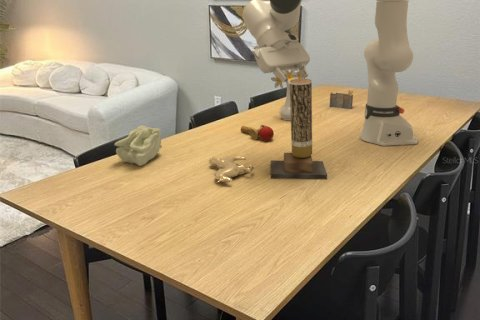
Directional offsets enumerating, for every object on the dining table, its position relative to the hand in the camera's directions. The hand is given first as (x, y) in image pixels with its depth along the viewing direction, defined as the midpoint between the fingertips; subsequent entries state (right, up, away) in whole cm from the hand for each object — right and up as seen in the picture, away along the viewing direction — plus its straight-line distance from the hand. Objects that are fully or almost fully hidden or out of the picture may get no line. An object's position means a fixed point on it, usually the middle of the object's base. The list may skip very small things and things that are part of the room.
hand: (295, 78), depth 130 cm
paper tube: (+3, -24, +9) cm, 26 cm away
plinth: (+2, -29, +10) cm, 31 cm away
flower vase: (+6, -6, +69) cm, 70 cm away
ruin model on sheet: (+36, +2, +90) cm, 97 cm away
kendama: (-11, -16, +45) cm, 49 cm away
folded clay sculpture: (-52, -26, +21) cm, 62 cm away
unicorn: (-15, -27, +13) cm, 33 cm away
